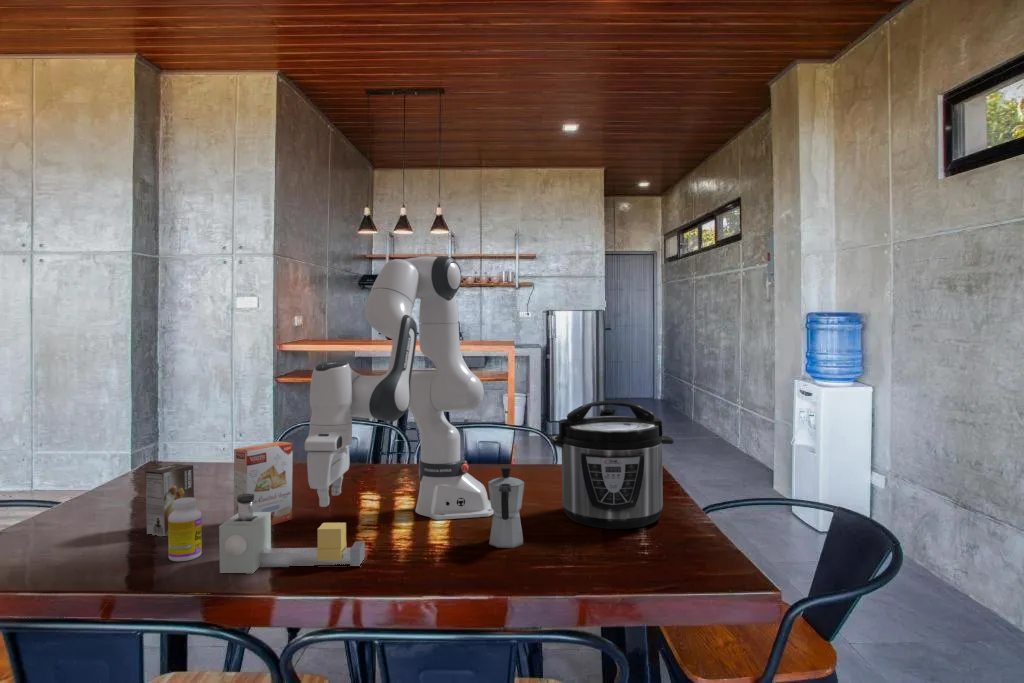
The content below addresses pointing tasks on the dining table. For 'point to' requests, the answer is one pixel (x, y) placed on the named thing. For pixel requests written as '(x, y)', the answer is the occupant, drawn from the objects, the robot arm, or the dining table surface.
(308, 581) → the dining table surface
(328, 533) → the rail carriage
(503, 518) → the coffee maker
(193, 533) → the supplement bottle
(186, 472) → the coffee box
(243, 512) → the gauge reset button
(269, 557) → the slide rail
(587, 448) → the pressure cooker
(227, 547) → the cabinet
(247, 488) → the cracker box
